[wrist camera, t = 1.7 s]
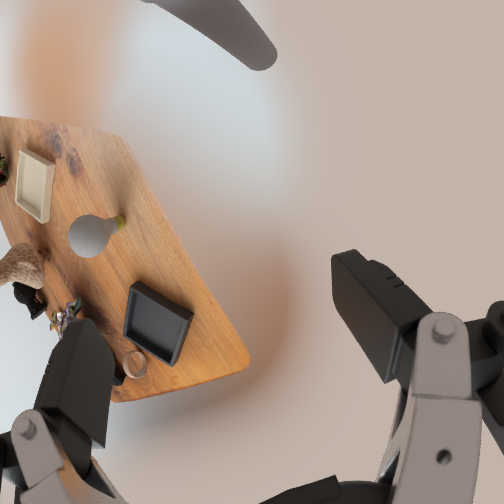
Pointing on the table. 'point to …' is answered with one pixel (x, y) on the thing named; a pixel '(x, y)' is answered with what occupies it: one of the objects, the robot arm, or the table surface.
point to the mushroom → (3, 172)
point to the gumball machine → (29, 299)
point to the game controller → (118, 377)
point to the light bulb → (92, 234)
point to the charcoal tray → (156, 323)
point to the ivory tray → (34, 184)
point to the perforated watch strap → (140, 372)
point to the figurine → (23, 265)
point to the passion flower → (67, 316)
